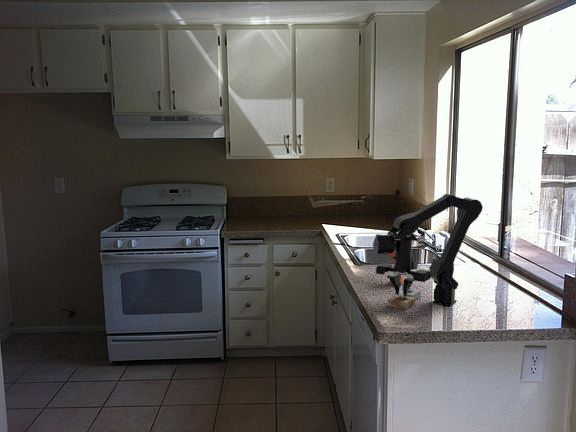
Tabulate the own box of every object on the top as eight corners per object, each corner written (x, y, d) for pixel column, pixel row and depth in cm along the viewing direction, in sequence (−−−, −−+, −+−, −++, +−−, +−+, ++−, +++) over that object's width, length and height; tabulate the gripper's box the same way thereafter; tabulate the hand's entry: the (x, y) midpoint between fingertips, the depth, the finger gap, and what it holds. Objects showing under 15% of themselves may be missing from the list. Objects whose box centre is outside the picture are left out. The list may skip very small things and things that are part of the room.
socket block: (415, 304, 184) (415, 297, 184) (406, 309, 179) (406, 302, 178) (397, 300, 189) (397, 294, 188) (388, 305, 183) (388, 299, 183)
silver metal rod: (406, 305, 184) (406, 283, 183) (403, 306, 182) (403, 284, 181) (400, 303, 185) (400, 282, 184) (397, 305, 184) (397, 283, 182)
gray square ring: (420, 297, 192) (420, 290, 192) (412, 302, 187) (412, 295, 187) (403, 293, 197) (403, 287, 196) (394, 298, 191) (394, 291, 191)
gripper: (437, 252, 181) (436, 295, 184) (389, 245, 193) (388, 285, 195) (424, 258, 173) (423, 303, 175) (375, 250, 184) (374, 292, 187)
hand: (401, 295), depth 183 cm, fingers closed on silver metal rod, 2 cm apart
